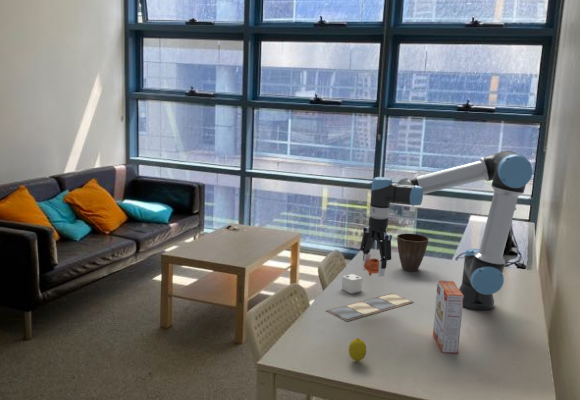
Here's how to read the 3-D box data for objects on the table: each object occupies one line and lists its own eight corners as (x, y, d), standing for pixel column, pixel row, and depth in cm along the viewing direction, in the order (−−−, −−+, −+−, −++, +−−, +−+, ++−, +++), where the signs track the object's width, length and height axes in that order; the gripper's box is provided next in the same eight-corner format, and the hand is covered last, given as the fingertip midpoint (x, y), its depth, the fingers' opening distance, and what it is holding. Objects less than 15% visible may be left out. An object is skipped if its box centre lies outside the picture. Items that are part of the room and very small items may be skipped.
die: (361, 291, 246) (362, 277, 245) (351, 293, 243) (352, 280, 242) (351, 286, 251) (352, 273, 250) (341, 289, 247) (342, 276, 246)
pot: (382, 270, 232) (385, 256, 229) (382, 281, 225) (385, 266, 222) (363, 268, 232) (365, 253, 230) (362, 278, 225) (364, 264, 223)
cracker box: (431, 335, 205) (437, 279, 201) (448, 335, 205) (454, 280, 201) (440, 353, 192) (446, 293, 187) (458, 354, 191) (464, 294, 187)
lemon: (346, 357, 186) (348, 334, 184) (363, 357, 186) (365, 334, 184) (349, 365, 180) (351, 342, 179) (367, 365, 181) (368, 342, 179)
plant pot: (393, 263, 287) (396, 232, 284) (424, 265, 285) (427, 234, 282) (395, 272, 273) (397, 240, 269) (426, 275, 271) (430, 242, 268)
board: (413, 302, 236) (413, 301, 235) (346, 321, 214) (347, 320, 214) (392, 293, 245) (392, 292, 245) (326, 310, 223) (326, 309, 223)
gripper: (353, 211, 229) (349, 266, 233) (390, 224, 212) (385, 282, 217) (367, 210, 233) (362, 263, 238) (405, 222, 217) (399, 279, 221)
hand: (373, 272), depth 227 cm, fingers closed on pot, 8 cm apart
